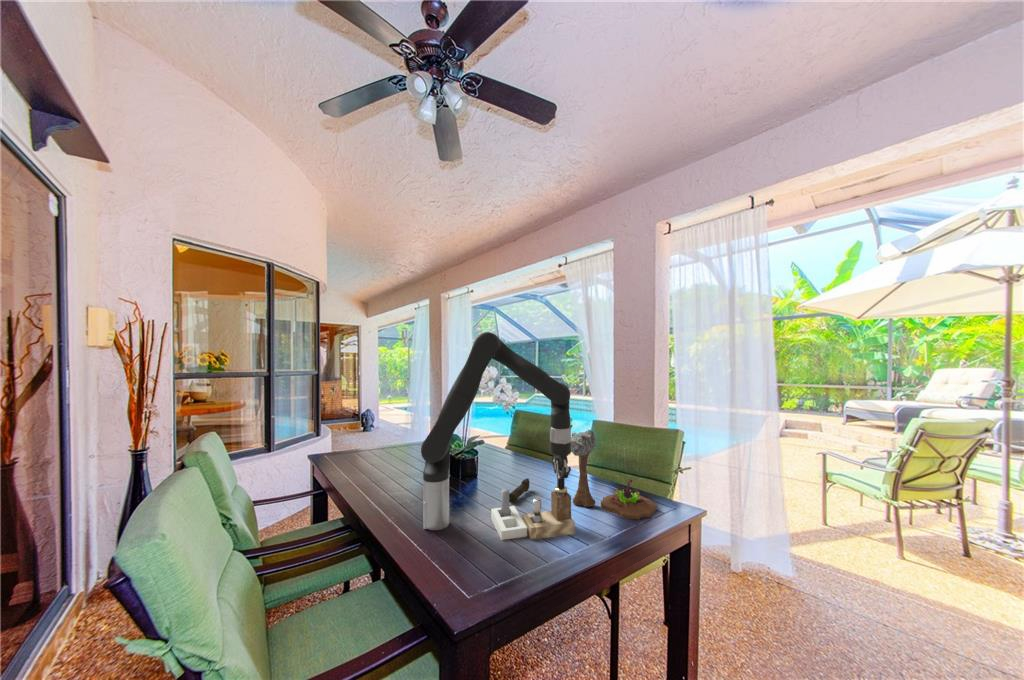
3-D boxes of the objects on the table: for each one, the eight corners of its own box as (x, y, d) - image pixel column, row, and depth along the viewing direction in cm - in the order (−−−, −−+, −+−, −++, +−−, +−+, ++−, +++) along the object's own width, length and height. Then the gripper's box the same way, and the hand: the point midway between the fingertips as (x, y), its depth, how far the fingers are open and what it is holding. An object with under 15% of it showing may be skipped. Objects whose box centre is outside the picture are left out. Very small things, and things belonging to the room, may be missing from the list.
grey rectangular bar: (534, 536, 126) (534, 501, 126) (532, 532, 129) (531, 498, 129) (542, 535, 127) (542, 500, 127) (540, 531, 130) (539, 497, 130)
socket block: (530, 543, 122) (530, 504, 122) (522, 528, 132) (522, 492, 132) (574, 536, 126) (574, 498, 126) (563, 522, 136) (563, 487, 136)
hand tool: (515, 504, 150) (515, 492, 150) (506, 502, 152) (506, 491, 152) (534, 488, 167) (534, 478, 167) (526, 486, 169) (526, 476, 169)
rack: (501, 543, 122) (501, 507, 122) (491, 519, 138) (491, 487, 138) (527, 539, 124) (526, 504, 124) (514, 516, 141) (514, 485, 141)
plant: (665, 510, 145) (665, 482, 145) (636, 525, 134) (635, 495, 134) (623, 493, 161) (623, 468, 161) (593, 505, 150) (593, 478, 150)
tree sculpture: (594, 513, 142) (593, 437, 142) (568, 510, 145) (567, 435, 146) (597, 498, 156) (597, 428, 156) (574, 495, 160) (573, 426, 160)
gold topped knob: (557, 511, 127) (557, 491, 127) (553, 505, 132) (552, 486, 132) (569, 509, 129) (569, 489, 129) (564, 504, 133) (564, 485, 133)
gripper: (544, 435, 136) (544, 482, 136) (557, 445, 123) (558, 496, 123) (563, 434, 138) (563, 480, 138) (578, 443, 125) (578, 494, 125)
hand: (560, 488), depth 130 cm, fingers closed
